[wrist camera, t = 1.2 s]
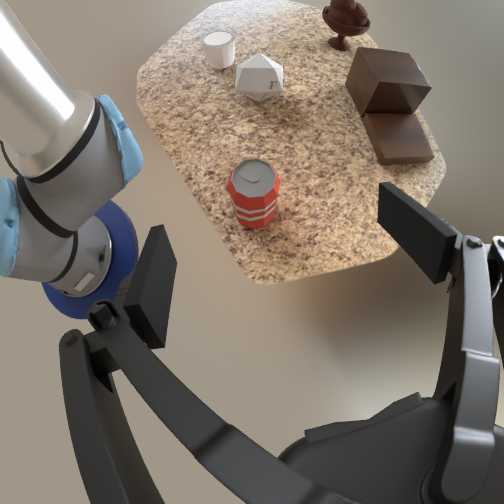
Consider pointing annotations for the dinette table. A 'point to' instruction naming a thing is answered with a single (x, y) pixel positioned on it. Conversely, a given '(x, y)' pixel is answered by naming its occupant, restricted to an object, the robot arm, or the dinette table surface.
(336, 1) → the ice cream bowl
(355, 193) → the dinette table surface
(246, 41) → the dinette table surface
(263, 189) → the beverage can
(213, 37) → the shot glass
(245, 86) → the die
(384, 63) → the wooden l-shaped step
